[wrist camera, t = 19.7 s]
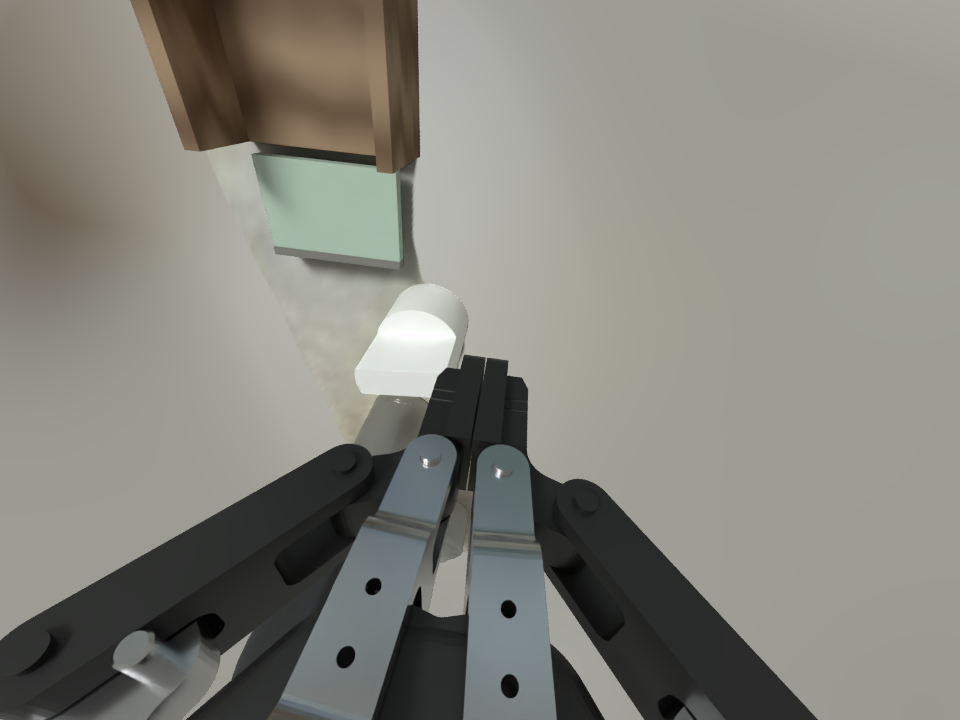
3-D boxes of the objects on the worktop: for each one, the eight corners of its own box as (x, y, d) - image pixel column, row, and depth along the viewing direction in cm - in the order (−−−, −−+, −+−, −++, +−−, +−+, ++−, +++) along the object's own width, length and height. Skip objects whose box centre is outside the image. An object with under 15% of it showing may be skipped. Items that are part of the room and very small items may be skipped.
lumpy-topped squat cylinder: (398, 488, 66) (383, 535, 60) (469, 498, 66) (461, 546, 59) (403, 518, 73) (389, 563, 66) (467, 527, 72) (460, 574, 65)
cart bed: (419, 156, 33) (392, 174, 27) (250, 137, 34) (184, 149, 27) (414, -180, 22) (365, -286, 16) (162, -199, 23) (18, -307, 16)
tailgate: (400, 168, 33) (403, 264, 38) (260, 152, 33) (283, 249, 38) (395, 171, 31) (399, 269, 37) (250, 154, 32) (275, 254, 37)
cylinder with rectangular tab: (466, 284, 40) (445, 346, 31) (470, 350, 46) (453, 420, 36) (387, 282, 41) (343, 342, 32) (400, 347, 47) (366, 415, 37)
